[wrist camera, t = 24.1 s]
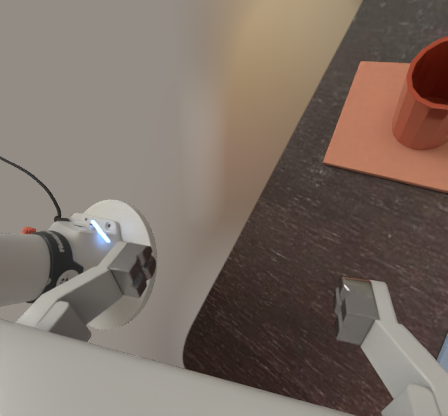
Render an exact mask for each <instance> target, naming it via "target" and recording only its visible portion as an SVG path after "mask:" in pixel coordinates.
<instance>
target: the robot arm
mask: <svg viewBox="0 0 448 416" xmlns="http://www.w3.org/2000/svg"><path fill="white" fill-rule="evenodd" d="M0 159H1V160H3V161H5V162H7V163H9V164H11V165H13V166H15V167H17V168H18V169H20V170H22V171H24V172H25V173H27V174H28V175H29V176H31V177H32V178H33V179H34V180H36V181H37V182H38V183H39V184H40V185H41V186H42V187H43V188H44V189H45V190H46V191H47V193H48V194H49V196H50V197H51V199H52V201H53V202H54V205H55V207H56V209H57V212H58V216H56V217H55V218H54V221H55V223H54V224H52V226H51V227H50V228H49V229H48V231H40V232H36V229H34V228H31V227H24V228H23V231H22V234H10V233H0V307H1V306H6V305H11V304H16V303H22V302H27V303H33V304H32V305H31V306H30V308H29V309H28V310H27V311H26V312H25V313H24V314H23V315H22V316H21V317H20V318H19V319H18V320H17V322H11V321H7V320H4V319H0V416H356V415H352V414H349V413H345V412H341V411H338V410H334V409H330V408H327V407H323V406H319V405H316V404H312V403H308V402H305V401H301V400H297V399H294V398H290V397H286V396H283V395H279V394H275V393H272V392H268V391H264V390H261V389H257V388H253V387H250V386H246V385H242V384H239V383H235V382H231V381H228V380H224V379H220V378H217V377H213V376H209V375H206V374H202V373H198V372H195V371H191V370H187V369H184V368H180V367H176V366H172V365H169V364H165V363H162V362H158V361H154V360H150V359H147V358H143V357H139V356H136V355H132V354H129V353H125V352H121V351H118V350H114V349H110V348H106V347H103V346H99V345H95V344H92V343H88V340H89V339H90V337H91V332H90V330H89V329H88V328H87V326H86V324H88V323H89V322H91V321H92V320H93V319H94V318H96V317H97V316H98V315H100V314H101V313H102V312H104V311H105V310H106V309H107V308H109V307H110V306H111V305H113V304H114V303H115V302H116V301H118V300H119V299H120V298H122V297H123V295H125V296H131V297H136V298H140V297H141V295H142V294H143V292H144V290H145V289H146V287H147V282H146V281H147V280H149V279H151V278H152V276H153V275H154V273H155V269H156V260H155V258H154V257H153V256H152V255H151V253H152V252H153V251H152V248H151V246H146V245H141V244H136V243H130V242H124V241H122V238H121V234H120V225H119V223H118V222H117V221H114V220H109V219H105V218H100V217H96V216H92V215H87V214H82V213H75V214H74V215H73V216H72V217H71V218H70V220H69V219H67V218H61V211H60V208H59V206H58V204H57V202H56V200H55V198H54V197H53V195H52V194H51V192H50V191H49V189H48V188H47V187H46V186H45V185H44V184H43V183H42V182H41V181H40V180H38V179H37V178H36V177H35V176H34V175H32V174H31V173H30V172H28V171H27V170H25V169H23V168H22V167H20V166H18V165H16V164H14V163H12V162H10V161H8V160H6V159H4V158H2V157H0ZM338 285H339V287H338V288H336V289H335V293H334V299H333V308H334V313H335V314H336V316H337V318H336V321H335V332H336V340H339V341H344V342H348V343H352V344H356V345H360V346H361V348H362V350H363V351H364V353H365V355H366V356H367V358H368V359H369V361H370V362H371V364H372V366H373V367H374V369H375V370H376V372H377V373H378V375H379V376H380V378H381V380H382V381H383V383H384V384H385V386H386V387H387V389H388V390H389V392H390V394H391V395H392V397H393V398H394V400H393V401H392V402H391V403H390V404H389V405H388V406H387V407H386V408H385V409H384V410H383V411H382V412H381V413H382V416H448V372H447V371H446V370H445V369H444V368H443V367H442V366H441V365H440V364H439V363H438V362H437V361H436V359H435V358H434V357H433V356H432V355H431V354H430V353H429V352H428V351H427V350H426V349H425V348H424V347H423V346H422V345H421V344H420V342H419V341H418V340H417V339H416V338H415V337H414V336H413V335H412V334H411V333H410V332H409V331H408V330H407V329H406V328H405V326H404V325H402V324H398V322H397V318H396V315H395V311H394V308H393V304H392V301H391V298H390V294H389V291H388V287H387V285H386V283H385V282H379V281H373V280H368V279H361V278H354V277H347V276H340V278H339V280H338Z"/></svg>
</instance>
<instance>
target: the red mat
mask: <svg viewBox="0 0 448 416" xmlns="http://www.w3.org/2000/svg"><path fill="white" fill-rule="evenodd" d="M409 66H410V63H388V62H367V61H361V62H360V65H359V67H358V70H357V73H356V75H355V78H354V81H353V83H352V86H351V89H350V91H349V94H348V97H347V99H346V102H345V105H344V107H343V110H342V113H341V115H340V118H339V121H338V123H337V126H336V129H335V131H334V134H333V137H332V139H331V142H330V145H329V147H328V150H327V153H326V155H325V158H324V161H323V163H324V164H325V165H329V166H334V167H338V168H342V169H346V170H351V171H355V172H359V173H363V174H368V175H372V176H376V177H380V178H385V179H389V180H393V181H397V182H402V183H406V184H410V185H414V186H419V187H423V188H427V189H431V190H436V191H440V192H444V193H448V142H447V143H446V144H444V145H442V146H440V147H437V148H434V149H429V150H415V149H411V148H408V147H406V146H404V145H402V144H401V143H399V142H398V141H397V140H396V138H395V137H394V135H393V132H392V120H393V117H394V113H395V110H396V107H397V104H398V100H399V97H400V94H401V91H402V87H403V84H404V81H405V77H406V74H407V72H408V69H409Z"/></svg>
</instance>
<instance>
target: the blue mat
mask: <svg viewBox="0 0 448 416" xmlns="http://www.w3.org/2000/svg"><path fill="white" fill-rule="evenodd" d="M437 362H438V363H439V364H440V365H441V366H442V367H443V368H444V369H445V370H446V371H447V372H448V334H447V336H446V339H445V341H444V344H443V346H442V349H441V351H440V354H439V356H438V359H437Z"/></svg>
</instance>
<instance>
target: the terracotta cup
mask: <svg viewBox="0 0 448 416" xmlns="http://www.w3.org/2000/svg"><path fill="white" fill-rule="evenodd" d="M392 132H393V135H394V137H395V138H396V140H397V141H398V142H399V143H401V144H402V145H404V146H406V147H408V148H411V149H415V150H429V149H434V148H437V147H440V146H442V145H444V144H446V143H447V142H448V36H447V37H444V38H441V39H438V40H437V41H435V42H433V43H432V44H430V45H428V46H427V47H425V48H424V49H422V50H421V52H420V53H419V54H418V55H417V56H416V57H415V58H414V59H413V60H412V62H411V64H410V66H409V69H408V72H407V74H406V77H405V81H404V84H403V87H402V91H401V94H400V97H399V100H398V104H397V107H396V110H395V113H394V117H393V120H392Z"/></svg>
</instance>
